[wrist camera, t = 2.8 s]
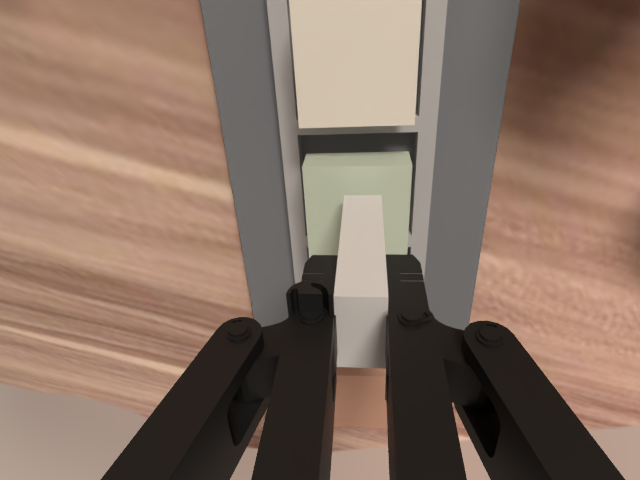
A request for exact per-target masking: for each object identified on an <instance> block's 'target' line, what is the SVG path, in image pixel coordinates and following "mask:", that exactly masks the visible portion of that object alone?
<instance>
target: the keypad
mask: <svg viewBox="0 0 640 480" xmlns="http://www.w3.org/2000/svg"><path fill="white" fill-rule="evenodd" d="M200 3H201V9H202V15H203V20H204V26H205V32H206V38H207V44H208V50H209V56H210V62H211V68H212V74H213V80H214V85H215V91H216V97H217V103H218V109H219V115H220V121H221V127H222V133H223V139H224V144H225V150H226V156H227V162H228V168H229V174H230V180H231V186H232V192H233V198H234V203H235V209H236V215H237V221H238V227H239V233H240V239H241V245H242V251H243V257H244V263H245V268H246V274H247V280H248V286H249V292H250V298H251V304H252V310H253V316H254V320H257V321H258V322H259V323H260V324H261V327H265V326H269V325H274V324H277V323H280V322H282V321H284V320H286V319H287V318H288V308H287V299H286V293H287V291H288V289H289V288H290V287H291V286H293V285H294V284H296V283H299V282H301V279H302V274H303V270H304V265H305V262H306V261H307V260H308V259H309V250H308V237H307V224H306V211H305V199H304V186H303V173H302V166H303V163H304V159H305V156H306V154H313V153H357V152H401V151H409V154H410V158H411V162H412V181H411V198H410V215H409V232H408V250H407V255H414V256H415V257H416V258H417V260H418V261H419V262H420V263H421V268H422V274H423V279H424V284H425V289H426V295H427V300H428V305H429V310H430V311H431V312H432V313H433V315H434V317H435V319H436V320H438V321H439V322H441V323H442V324H444V325H447V326H450V327H453V328H457V329H461V330H465V328H466V327H467V326H468V325H469V320H470V314H471V308H472V301H473V295H474V289H475V282H476V276H477V270H478V264H479V257H480V251H481V245H482V238H483V232H484V226H485V219H486V213H487V207H488V201H489V194H490V188H491V182H492V175H493V169H494V163H495V156H496V150H497V144H498V138H499V131H500V125H501V119H502V112H503V106H504V100H505V93H506V87H507V81H508V75H509V68H510V62H511V56H512V49H513V43H514V37H515V31H516V24H517V18H518V12H519V5H520V0H422V8H421V26H420V43H419V60H418V77H417V95H416V112H415V125H399V126H364V127H329V128H299V122H298V109H297V96H296V84H295V71H294V58H293V45H292V32H291V20H290V7H289V0H200Z"/></svg>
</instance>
